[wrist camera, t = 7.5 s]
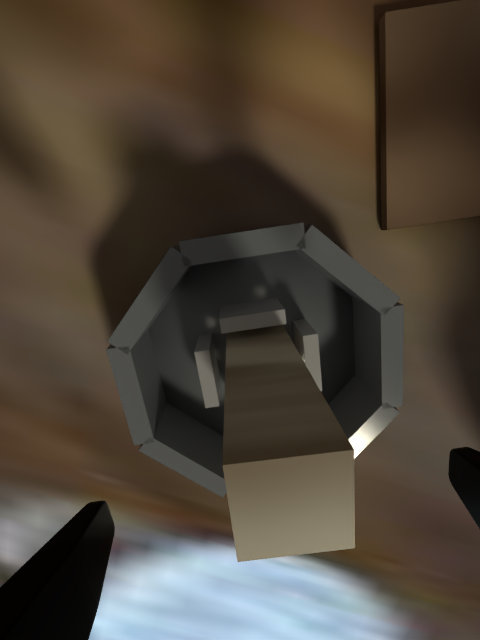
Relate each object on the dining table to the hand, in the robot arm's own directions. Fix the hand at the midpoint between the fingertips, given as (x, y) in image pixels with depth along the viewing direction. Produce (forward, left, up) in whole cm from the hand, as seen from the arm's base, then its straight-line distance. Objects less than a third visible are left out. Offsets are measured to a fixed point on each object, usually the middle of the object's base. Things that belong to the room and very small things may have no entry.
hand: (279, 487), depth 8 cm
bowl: (0, 0, -10) cm, 10 cm away
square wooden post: (0, 0, -9) cm, 9 cm away
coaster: (+10, -12, -10) cm, 19 cm away
